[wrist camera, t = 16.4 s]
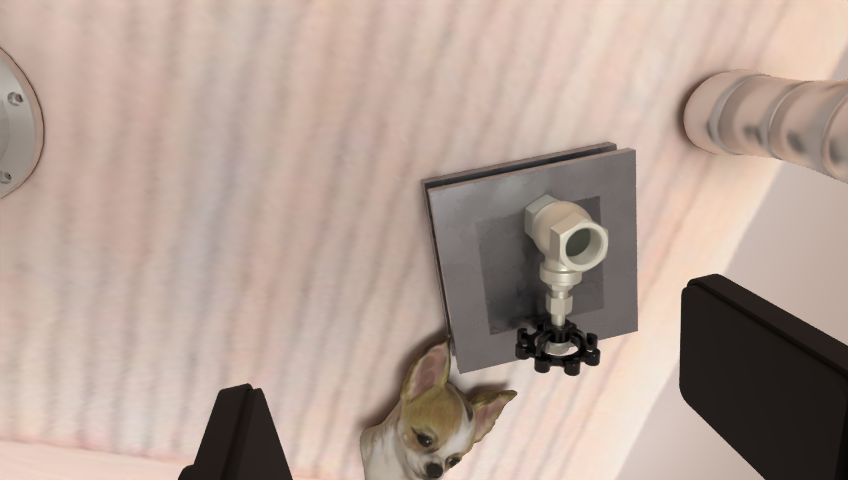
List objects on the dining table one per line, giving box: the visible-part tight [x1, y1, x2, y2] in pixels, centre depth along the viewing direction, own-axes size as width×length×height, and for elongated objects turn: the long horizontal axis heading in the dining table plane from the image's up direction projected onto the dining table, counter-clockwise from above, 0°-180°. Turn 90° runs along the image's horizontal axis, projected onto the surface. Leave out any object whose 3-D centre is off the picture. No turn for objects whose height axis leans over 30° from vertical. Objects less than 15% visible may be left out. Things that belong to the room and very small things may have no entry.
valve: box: [515, 194, 608, 376], centre depth 37 cm, size 7×7×12 cm
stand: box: [421, 142, 638, 374], centre depth 42 cm, size 16×16×4 cm
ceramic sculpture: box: [360, 335, 517, 480], centre depth 44 cm, size 11×9×15 cm
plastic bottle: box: [684, 70, 848, 183], centre depth 33 cm, size 6×7×20 cm
